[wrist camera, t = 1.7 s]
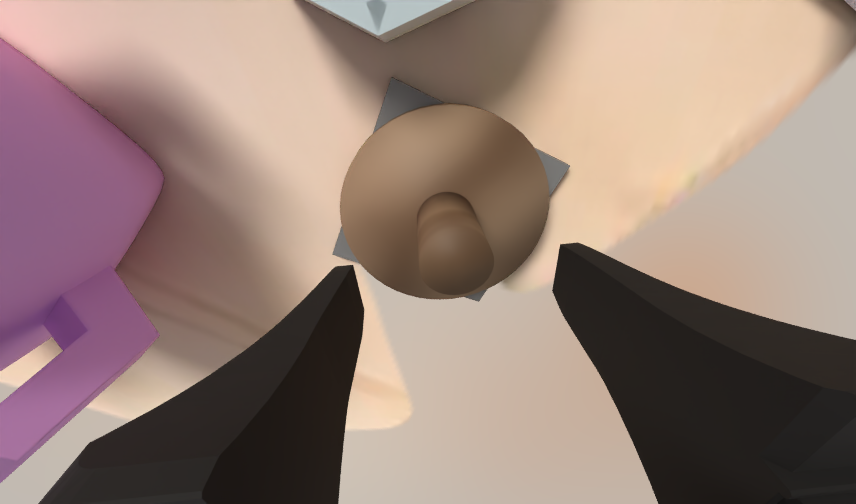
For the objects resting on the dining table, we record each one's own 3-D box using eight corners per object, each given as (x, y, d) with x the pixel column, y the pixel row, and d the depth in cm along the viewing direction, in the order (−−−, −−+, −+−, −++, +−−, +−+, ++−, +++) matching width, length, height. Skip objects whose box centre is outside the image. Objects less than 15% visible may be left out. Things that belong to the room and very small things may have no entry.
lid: (585, 160, 14) (654, 198, 10) (481, 309, 19) (501, 376, 15) (384, 57, 12) (370, 55, 8) (320, 258, 17) (291, 322, 12)
